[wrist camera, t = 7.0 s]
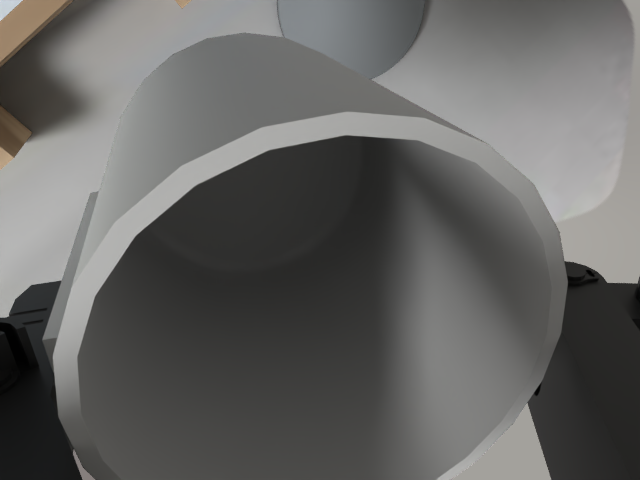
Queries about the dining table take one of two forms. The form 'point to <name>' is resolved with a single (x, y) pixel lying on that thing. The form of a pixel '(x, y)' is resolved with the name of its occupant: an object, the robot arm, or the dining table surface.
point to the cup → (301, 281)
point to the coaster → (354, 30)
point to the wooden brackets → (5, 41)
